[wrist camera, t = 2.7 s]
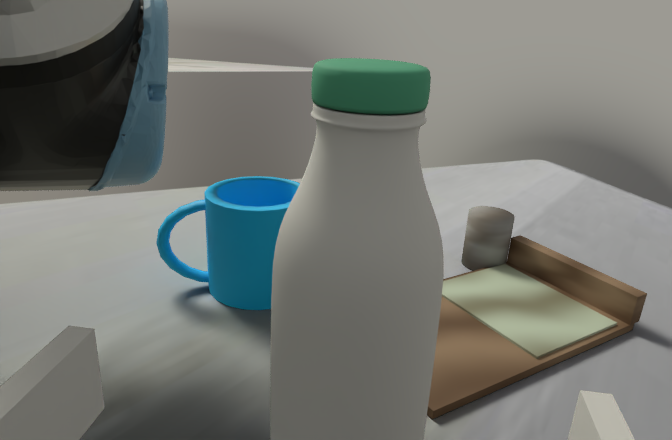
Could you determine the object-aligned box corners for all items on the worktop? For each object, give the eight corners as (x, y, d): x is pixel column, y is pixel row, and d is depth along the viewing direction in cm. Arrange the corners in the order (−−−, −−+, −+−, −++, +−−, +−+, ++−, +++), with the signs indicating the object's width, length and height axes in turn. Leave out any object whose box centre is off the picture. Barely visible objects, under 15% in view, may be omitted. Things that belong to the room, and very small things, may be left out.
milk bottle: (434, 522, 25) (504, 79, 18) (266, 527, 25) (266, 69, 17) (403, 407, 32) (444, 56, 25) (273, 408, 32) (275, 49, 24)
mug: (303, 262, 50) (305, 176, 47) (312, 308, 42) (316, 210, 39) (167, 264, 48) (160, 176, 45) (152, 314, 40) (142, 211, 37)
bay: (303, 298, 44) (305, 240, 42) (487, 250, 54) (495, 202, 52) (432, 419, 31) (442, 346, 30) (636, 327, 42) (654, 269, 40)
